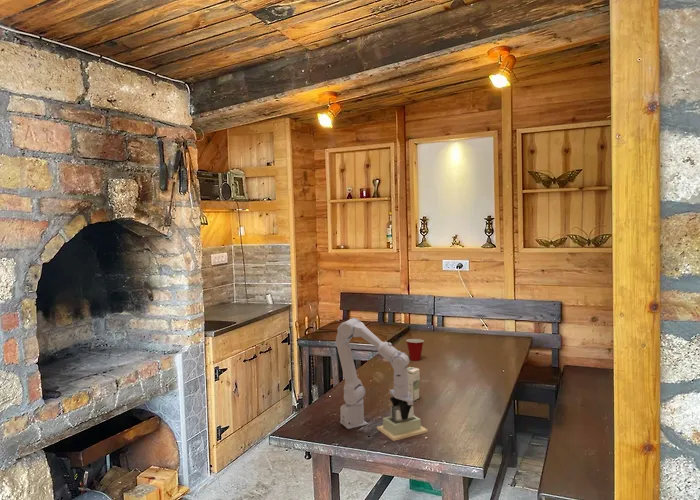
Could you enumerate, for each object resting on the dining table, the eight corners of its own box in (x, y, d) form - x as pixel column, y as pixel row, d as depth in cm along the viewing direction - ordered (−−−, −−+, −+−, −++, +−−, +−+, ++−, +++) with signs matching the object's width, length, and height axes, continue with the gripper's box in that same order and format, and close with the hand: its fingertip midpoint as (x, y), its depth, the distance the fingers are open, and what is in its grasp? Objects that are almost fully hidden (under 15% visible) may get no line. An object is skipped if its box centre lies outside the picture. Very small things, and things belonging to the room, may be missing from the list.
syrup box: (409, 396, 250) (409, 366, 249) (420, 398, 247) (419, 368, 246) (403, 399, 246) (402, 369, 245) (413, 402, 242) (413, 371, 241)
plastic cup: (427, 358, 314) (426, 338, 313) (421, 362, 304) (420, 342, 303) (410, 356, 319) (409, 336, 318) (403, 361, 309) (403, 341, 308)
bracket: (396, 429, 207) (396, 410, 207) (391, 425, 211) (390, 406, 211) (413, 425, 211) (413, 406, 210) (407, 421, 215) (407, 402, 214)
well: (393, 441, 202) (393, 428, 201) (376, 429, 213) (376, 417, 213) (427, 432, 209) (427, 420, 208) (409, 421, 220) (409, 409, 220)
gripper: (419, 387, 205) (420, 421, 206) (399, 377, 218) (400, 409, 219) (404, 390, 202) (405, 424, 203) (385, 380, 215) (386, 412, 216)
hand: (401, 416), depth 211 cm, fingers closed on bracket, 4 cm apart
